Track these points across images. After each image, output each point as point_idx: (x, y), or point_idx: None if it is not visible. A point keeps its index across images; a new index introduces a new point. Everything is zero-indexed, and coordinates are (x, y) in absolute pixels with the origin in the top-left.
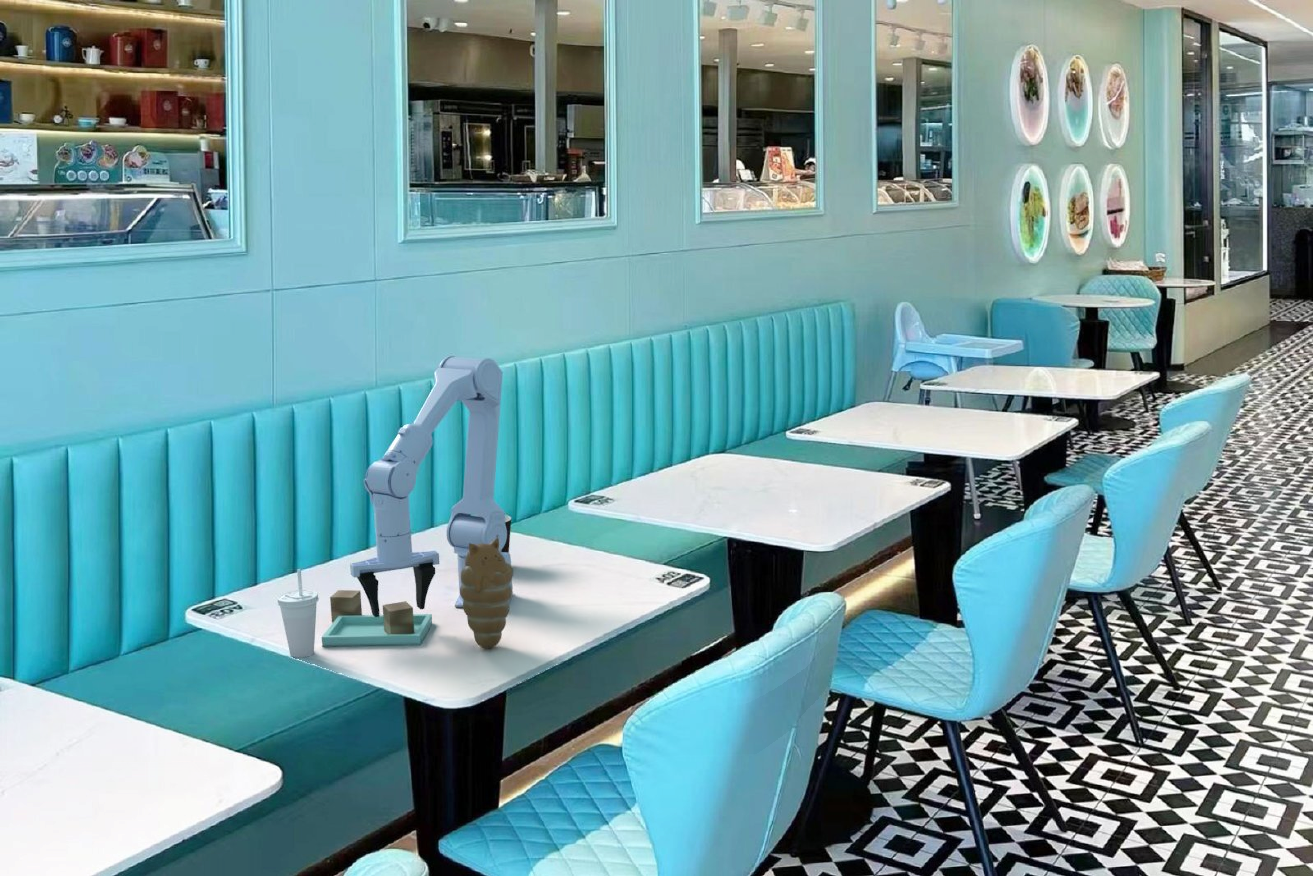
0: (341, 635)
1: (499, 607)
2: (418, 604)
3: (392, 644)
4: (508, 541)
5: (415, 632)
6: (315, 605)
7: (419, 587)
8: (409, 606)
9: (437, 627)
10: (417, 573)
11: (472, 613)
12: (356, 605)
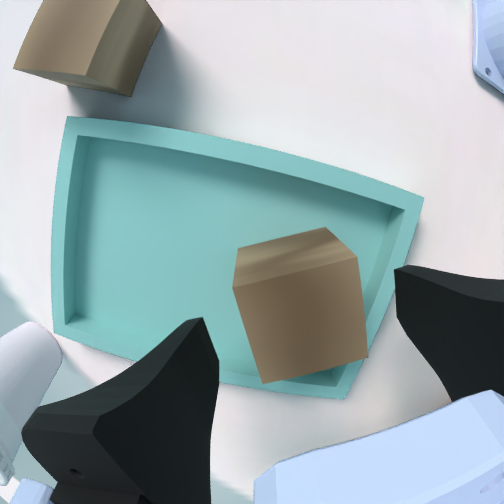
0: (101, 339)
1: None
2: (401, 298)
3: None
4: None
5: None
6: (11, 451)
7: (448, 357)
8: (359, 341)
9: (415, 242)
10: (493, 384)
11: None
12: (123, 50)
